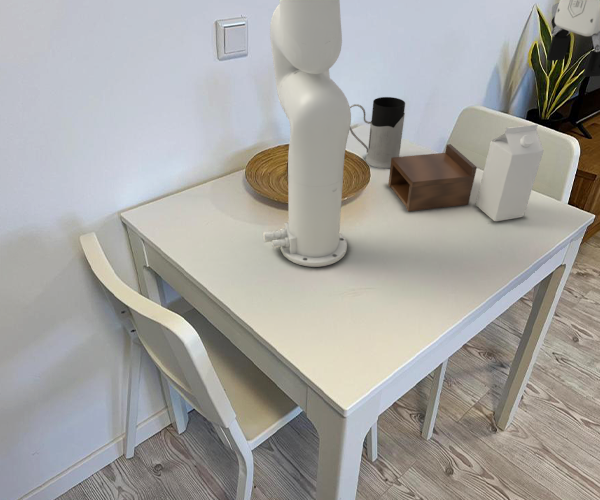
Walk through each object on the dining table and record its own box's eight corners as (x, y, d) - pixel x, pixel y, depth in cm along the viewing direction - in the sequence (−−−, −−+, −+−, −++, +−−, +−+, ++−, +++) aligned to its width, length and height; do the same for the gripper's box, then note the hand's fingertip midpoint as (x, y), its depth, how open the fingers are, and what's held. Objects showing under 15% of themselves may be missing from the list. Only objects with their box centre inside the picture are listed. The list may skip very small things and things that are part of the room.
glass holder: (398, 170, 125) (406, 110, 116) (341, 163, 127) (344, 104, 119) (401, 155, 132) (409, 97, 123) (347, 149, 134) (350, 92, 126)
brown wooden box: (408, 211, 109) (414, 173, 103) (388, 185, 118) (392, 149, 113) (468, 204, 111) (477, 167, 106) (443, 179, 121) (450, 144, 116)
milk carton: (475, 205, 111) (495, 121, 100) (503, 201, 113) (525, 117, 102) (494, 222, 105) (518, 135, 94) (523, 217, 107) (550, 131, 96)
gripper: (551, -53, 84) (524, 55, 94) (628, -41, 70) (587, 84, 80) (591, -53, 85) (560, 53, 95) (674, -42, 72) (628, 81, 81)
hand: (572, 67), depth 88 cm, fingers open, 9 cm apart
